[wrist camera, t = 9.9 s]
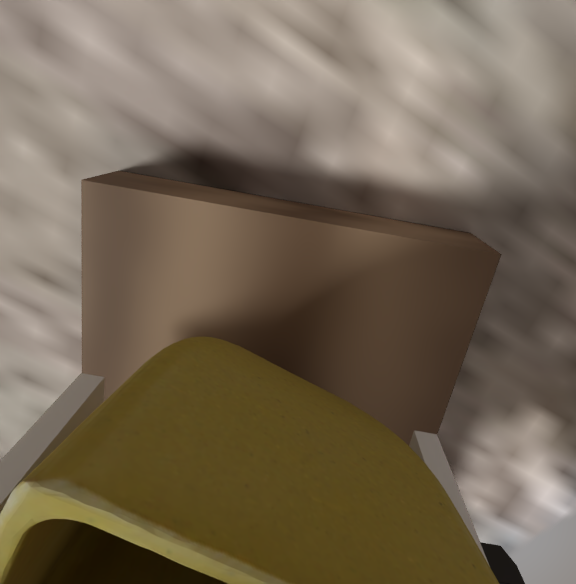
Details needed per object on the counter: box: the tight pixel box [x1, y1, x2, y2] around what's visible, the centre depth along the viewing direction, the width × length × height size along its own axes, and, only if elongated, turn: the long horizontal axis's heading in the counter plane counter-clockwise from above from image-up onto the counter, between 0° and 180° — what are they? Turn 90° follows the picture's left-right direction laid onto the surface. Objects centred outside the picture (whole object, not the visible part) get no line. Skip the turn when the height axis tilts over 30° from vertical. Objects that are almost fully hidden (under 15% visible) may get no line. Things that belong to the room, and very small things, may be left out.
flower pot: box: [0, 337, 499, 584], centre depth 11 cm, size 9×9×9 cm
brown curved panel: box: [82, 171, 501, 446], centre depth 18 cm, size 14×14×3 cm
